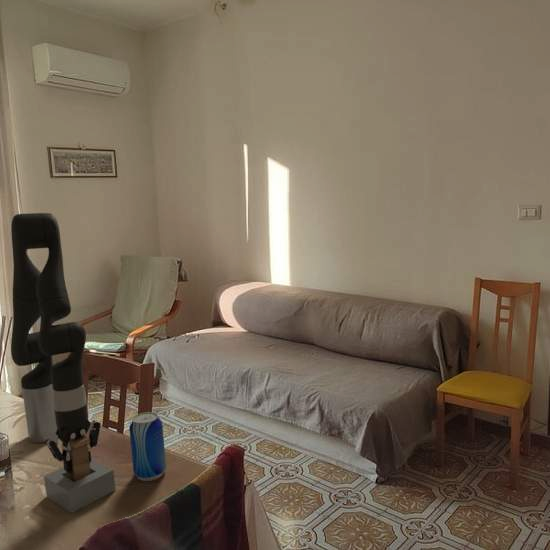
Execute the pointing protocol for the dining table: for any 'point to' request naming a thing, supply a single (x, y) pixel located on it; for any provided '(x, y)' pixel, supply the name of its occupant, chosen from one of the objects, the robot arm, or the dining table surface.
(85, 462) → the tall wooden block
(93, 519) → the dining table surface
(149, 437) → the beer can
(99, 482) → the well block
